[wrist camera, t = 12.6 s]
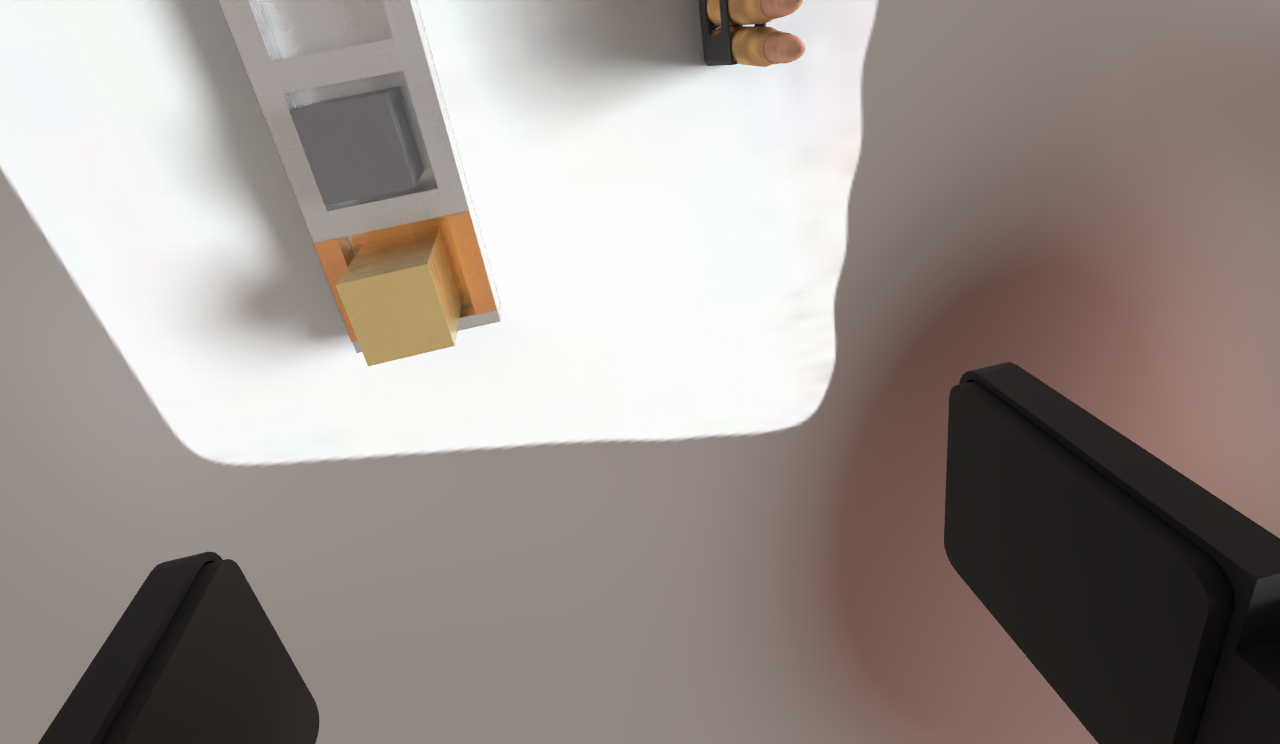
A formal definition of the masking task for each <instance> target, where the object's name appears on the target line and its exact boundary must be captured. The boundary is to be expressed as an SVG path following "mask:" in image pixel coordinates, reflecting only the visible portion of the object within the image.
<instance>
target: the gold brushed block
mask: <svg viewBox="0 0 1280 744" xmlns="http://www.w3.org/2000/svg"><path fill="white" fill-rule="evenodd" d="M336 288H337V290H338V293H339V295H340V298H341V300H342V303H343V305H344V308H345V310H346V312H347V315H348V317H349V320H350V322H351V325H352V327H353V330H354V332H355V335H356V337H357V340H358V342H359V345H360V347H361V350H362V352H363V354H364V357H365V359H366V362H367V364H368V366H371V365H375V364H379V363H384V362H388V361H392V360H396V359H401V358H405V357H409V356H413V355H418V354H422V353H426V352H430V351H435V350H439V349H443V348H447V347H452V346H455V340H456V334H457V328H458V322H459V316H460V310H461V304H462V299H463V297H462V293H461V290H460V287H459V284H458V281H457V278H456V275H455V271H454V268H453V265H452V262H451V259H450V256H449V253H448V249H447V246H446V243H445V240H444V237H443V234H442V231H441V228H440V226H439V227H435V228H430V229H426V230H421V231H417V232H412V233H408V234H403V235H399V236H394V237H390V238H385V239H381V240H377V241H372V242H368V243H363V245H362V246H361V248H360V249H359V251H358V252H357V254H356V255H355V257H354V258H353V260H352V261H351V262H350V264H349V265H348V267H347V268H346V270H345V271H344V273H343V274H342V276H341V277H340V279H339V280H338V282H337V283H336Z"/></svg>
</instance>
